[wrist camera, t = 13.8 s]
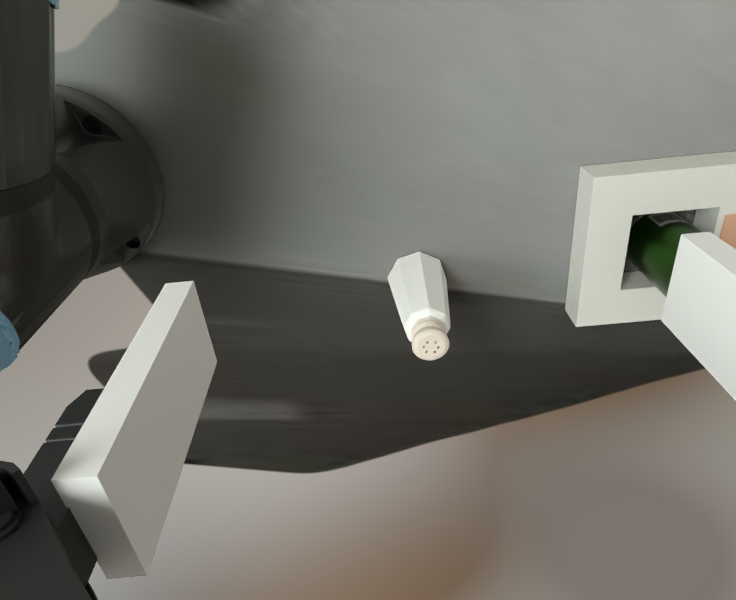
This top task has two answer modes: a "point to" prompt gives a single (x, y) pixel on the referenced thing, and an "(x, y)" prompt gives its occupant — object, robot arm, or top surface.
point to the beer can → (657, 245)
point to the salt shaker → (422, 303)
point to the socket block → (613, 222)
